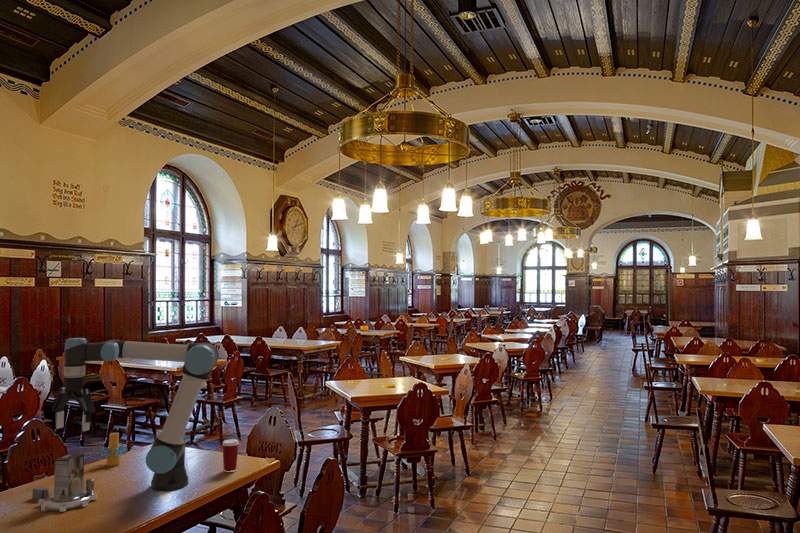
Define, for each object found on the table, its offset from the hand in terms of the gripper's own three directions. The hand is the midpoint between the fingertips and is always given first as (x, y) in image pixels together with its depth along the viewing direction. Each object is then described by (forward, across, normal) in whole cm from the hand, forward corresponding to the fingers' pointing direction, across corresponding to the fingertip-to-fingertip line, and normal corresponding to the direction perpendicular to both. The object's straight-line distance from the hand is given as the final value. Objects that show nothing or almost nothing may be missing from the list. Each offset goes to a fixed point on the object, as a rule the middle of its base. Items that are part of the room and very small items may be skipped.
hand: (72, 429), depth 221 cm
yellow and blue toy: (+29, -22, +43) cm, 56 cm away
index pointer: (+29, -15, -1) cm, 32 cm away
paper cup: (+29, +38, +53) cm, 71 cm away
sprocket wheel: (+29, 0, -1) cm, 29 cm away
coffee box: (+26, 0, -1) cm, 27 cm away
